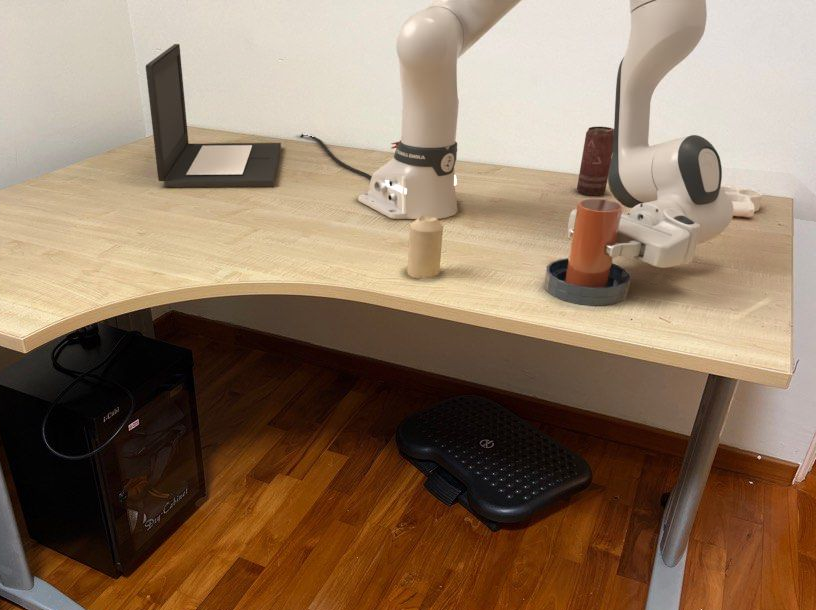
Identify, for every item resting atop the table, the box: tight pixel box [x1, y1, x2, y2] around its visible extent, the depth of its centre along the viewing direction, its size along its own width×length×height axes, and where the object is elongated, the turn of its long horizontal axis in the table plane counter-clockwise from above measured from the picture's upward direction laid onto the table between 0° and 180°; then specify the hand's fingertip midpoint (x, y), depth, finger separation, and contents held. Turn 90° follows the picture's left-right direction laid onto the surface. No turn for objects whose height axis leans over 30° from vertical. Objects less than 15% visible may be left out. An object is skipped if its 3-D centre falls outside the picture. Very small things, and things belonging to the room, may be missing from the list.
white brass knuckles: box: [721, 184, 764, 219], centre depth 160 cm, size 3×18×15 cm
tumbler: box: [565, 198, 624, 288], centre depth 121 cm, size 7×7×14 cm
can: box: [576, 126, 614, 197], centre depth 168 cm, size 6×6×14 cm
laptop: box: [145, 43, 282, 188], centre depth 187 cm, size 37×27×27 cm
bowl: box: [543, 257, 632, 307], centre depth 124 cm, size 13×13×3 cm
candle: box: [406, 215, 444, 280], centre depth 129 cm, size 6×6×10 cm
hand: (589, 243), depth 120 cm, fingers closed on tumbler, 6 cm apart
